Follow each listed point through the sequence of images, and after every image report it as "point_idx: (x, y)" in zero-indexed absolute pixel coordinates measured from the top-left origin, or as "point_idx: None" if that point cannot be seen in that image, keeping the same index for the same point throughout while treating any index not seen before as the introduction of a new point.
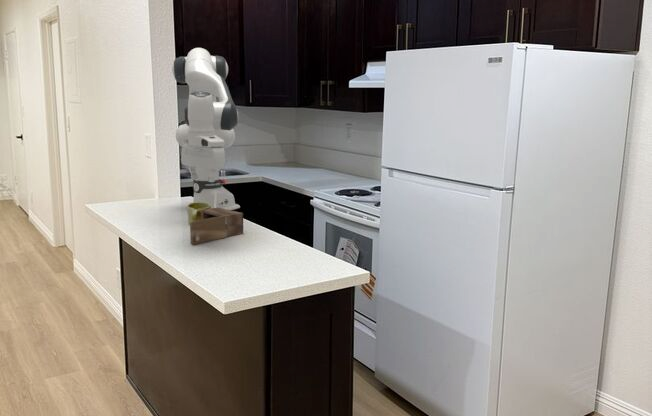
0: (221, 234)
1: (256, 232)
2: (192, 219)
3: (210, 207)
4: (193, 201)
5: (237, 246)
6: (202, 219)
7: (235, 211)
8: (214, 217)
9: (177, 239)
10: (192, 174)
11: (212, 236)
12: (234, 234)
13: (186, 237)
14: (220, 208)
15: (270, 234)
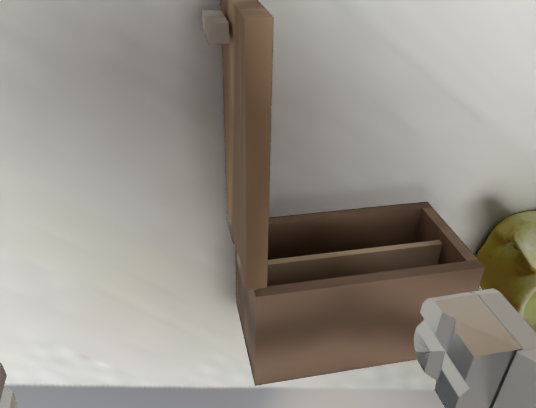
0: (229, 198)
1: (210, 347)
2: (526, 221)
3: None
4: None
5: (26, 163)
6: (450, 235)
7: (314, 373)
8: (261, 223)
9: (399, 2)
10: (501, 350)
11: (227, 140)
12: (236, 264)
13: (391, 68)
14: None
15: (137, 371)
